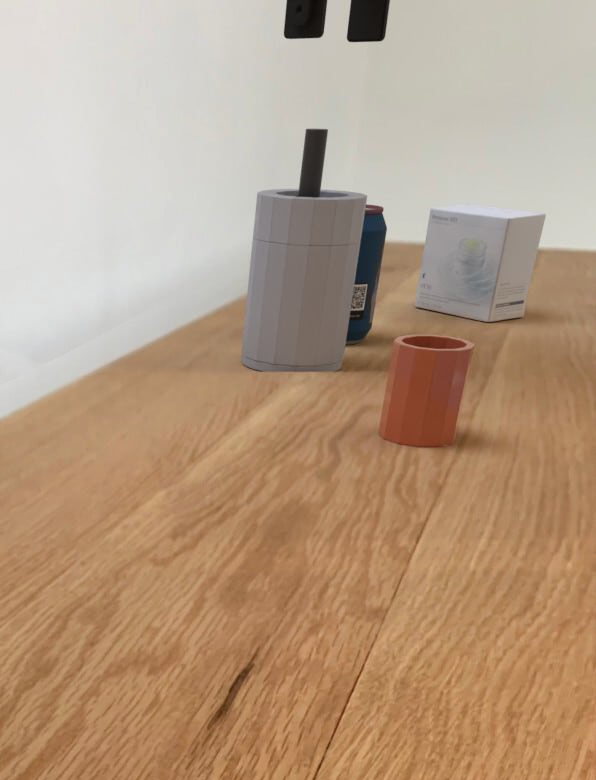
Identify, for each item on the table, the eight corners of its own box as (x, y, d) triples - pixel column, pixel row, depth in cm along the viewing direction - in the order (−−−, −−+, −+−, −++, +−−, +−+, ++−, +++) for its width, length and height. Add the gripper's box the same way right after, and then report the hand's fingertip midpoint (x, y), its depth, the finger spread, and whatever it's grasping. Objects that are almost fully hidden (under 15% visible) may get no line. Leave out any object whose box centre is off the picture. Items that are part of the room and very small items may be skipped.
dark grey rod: (302, 350, 102) (330, 128, 93) (311, 358, 99) (341, 130, 90) (268, 350, 102) (293, 128, 93) (276, 358, 99) (302, 129, 90)
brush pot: (437, 432, 82) (457, 334, 79) (464, 453, 78) (485, 350, 74) (369, 433, 82) (385, 334, 78) (391, 453, 77) (409, 350, 74)
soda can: (287, 332, 113) (303, 202, 107) (349, 330, 114) (368, 202, 108) (316, 347, 107) (335, 210, 101) (382, 344, 109) (404, 209, 102)
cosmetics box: (410, 307, 126) (428, 205, 120) (449, 302, 129) (467, 202, 123) (486, 323, 118) (509, 215, 113) (525, 317, 121) (549, 212, 116)
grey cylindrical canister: (326, 353, 105) (349, 189, 98) (353, 375, 97) (380, 199, 90) (232, 353, 105) (248, 188, 97) (252, 375, 97) (271, 198, 90)
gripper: (354, -279, 71) (321, 35, 80) (468, -230, 82) (428, 41, 91) (255, -257, 76) (234, 38, 84) (376, -214, 87) (346, 44, 95)
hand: (335, 39), depth 88 cm, fingers open, 9 cm apart
